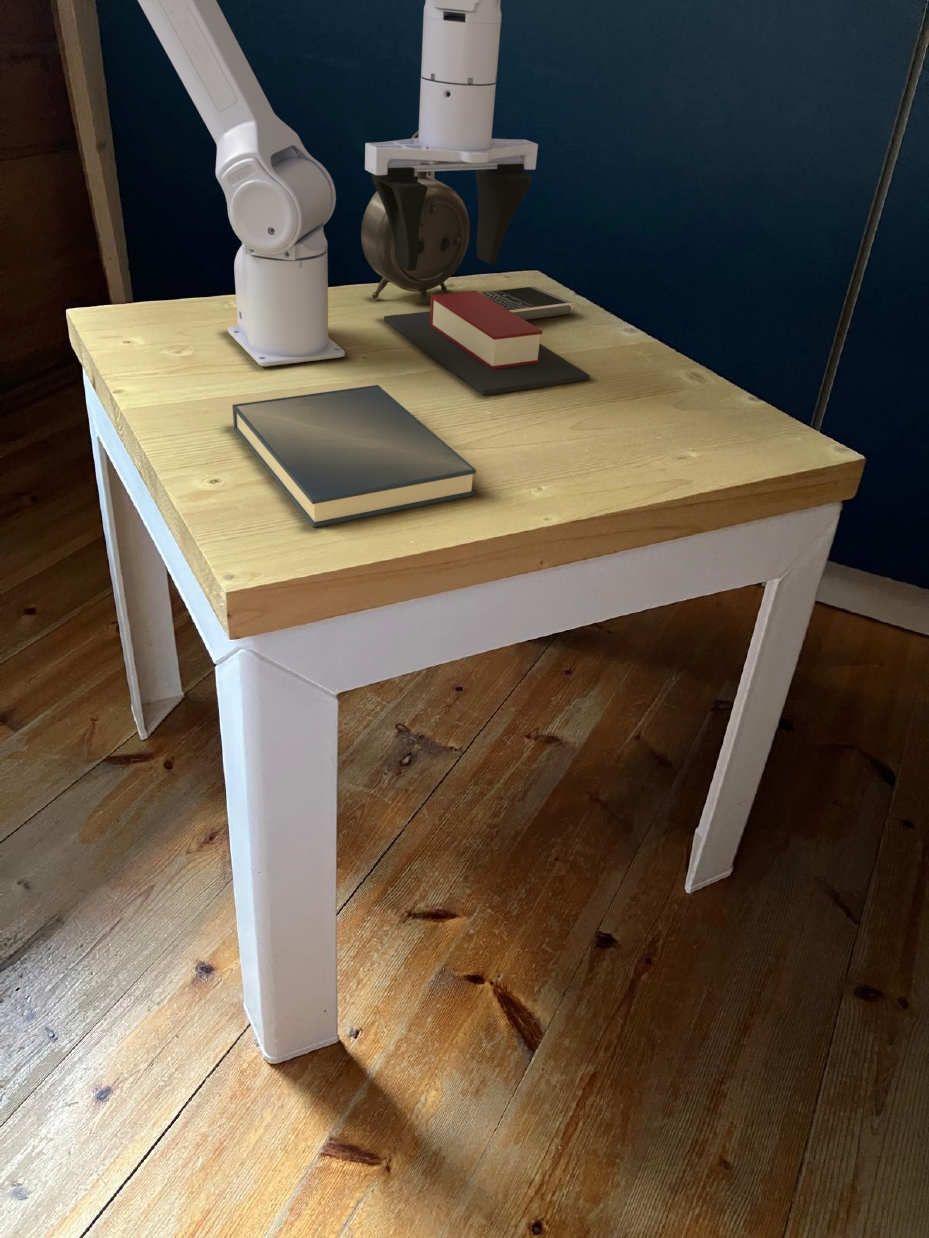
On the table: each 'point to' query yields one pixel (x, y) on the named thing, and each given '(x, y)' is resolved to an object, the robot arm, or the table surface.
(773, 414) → the table surface
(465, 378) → the mat
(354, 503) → the bottom book
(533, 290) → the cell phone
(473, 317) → the top book
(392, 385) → the table surface
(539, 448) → the table surface
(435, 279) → the alarm clock
